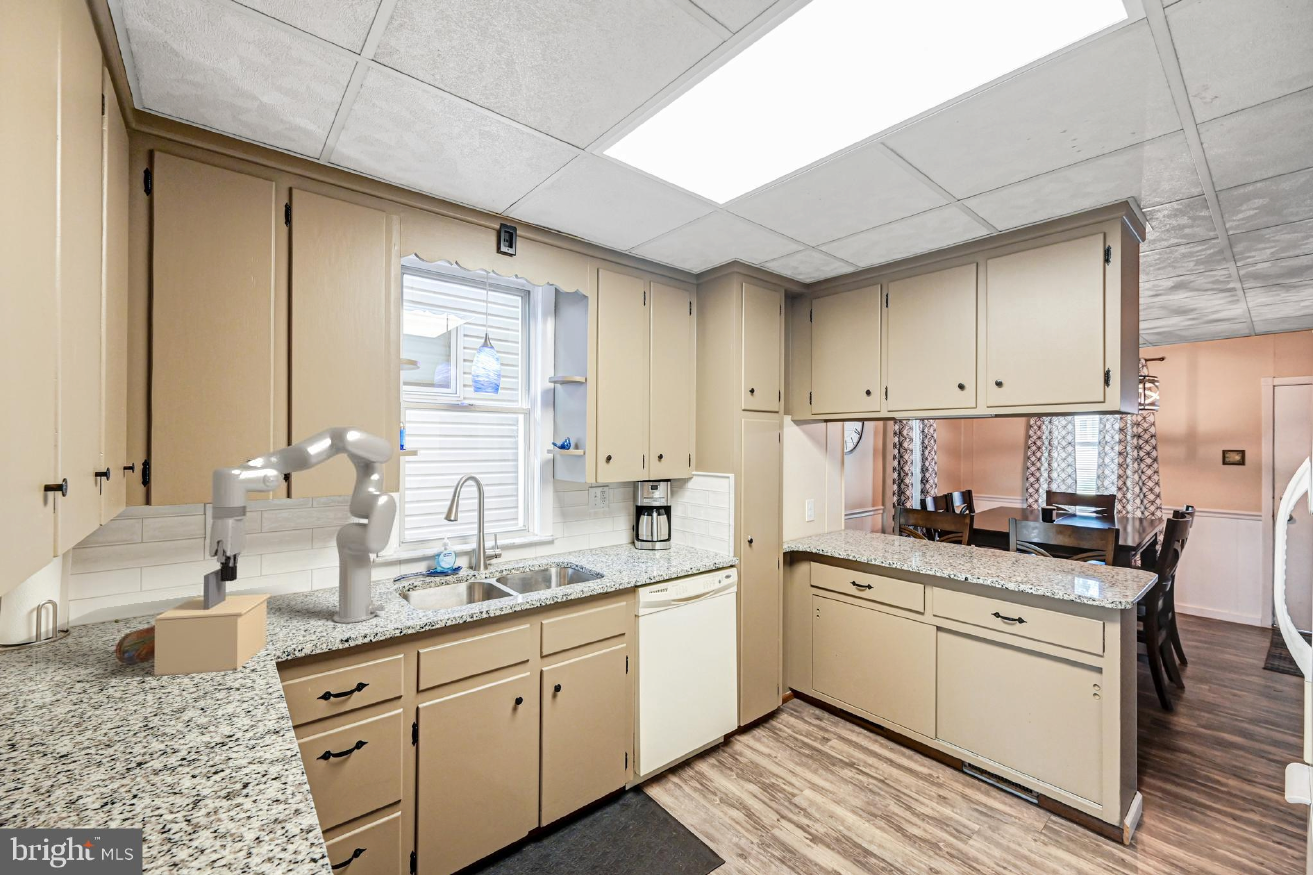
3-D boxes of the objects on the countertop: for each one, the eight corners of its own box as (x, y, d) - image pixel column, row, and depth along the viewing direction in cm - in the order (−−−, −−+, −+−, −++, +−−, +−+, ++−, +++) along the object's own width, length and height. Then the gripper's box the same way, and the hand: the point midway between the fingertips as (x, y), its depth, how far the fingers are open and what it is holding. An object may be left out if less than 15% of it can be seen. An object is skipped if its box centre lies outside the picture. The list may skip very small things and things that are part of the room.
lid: (270, 595, 164) (270, 562, 164) (242, 614, 147) (242, 577, 147) (193, 599, 160) (194, 565, 160) (155, 619, 142) (155, 581, 142)
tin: (122, 669, 147) (122, 636, 147) (112, 668, 147) (113, 635, 147) (181, 648, 161) (181, 618, 161) (172, 647, 162) (172, 617, 162)
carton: (266, 645, 164) (266, 596, 164) (237, 669, 147) (237, 615, 147) (193, 650, 160) (193, 600, 160) (154, 676, 142) (155, 620, 142)
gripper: (226, 509, 160) (226, 574, 160) (198, 517, 146) (197, 588, 146) (257, 509, 162) (256, 573, 162) (232, 516, 148) (231, 586, 148)
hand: (228, 580), depth 154 cm, fingers closed
